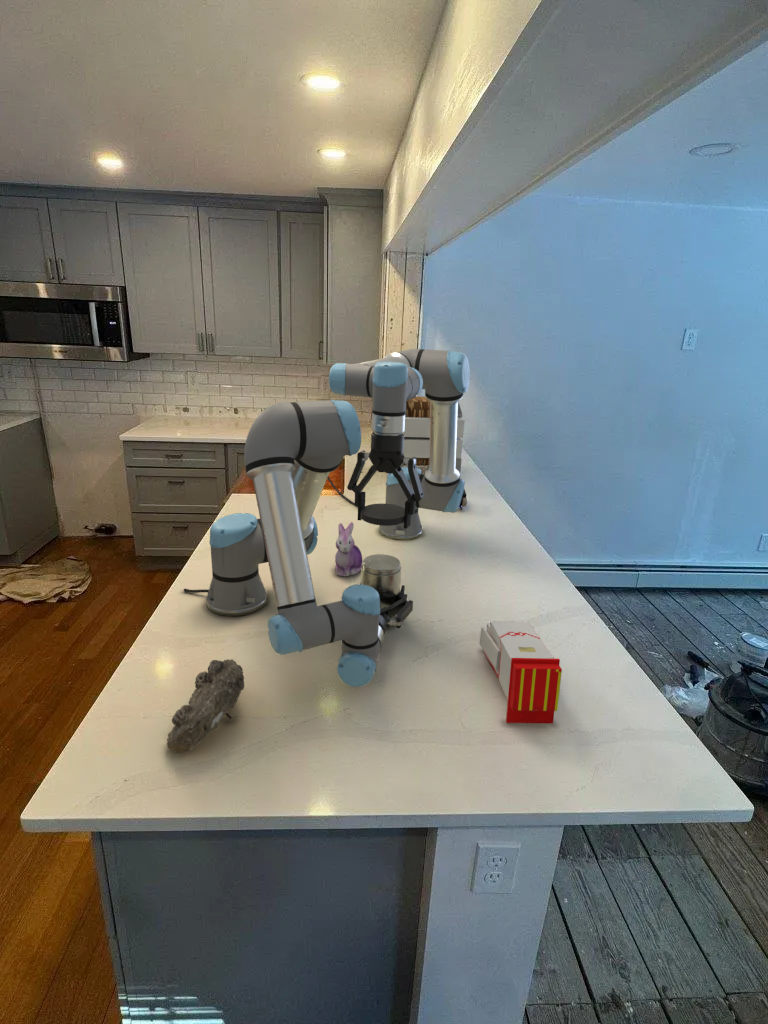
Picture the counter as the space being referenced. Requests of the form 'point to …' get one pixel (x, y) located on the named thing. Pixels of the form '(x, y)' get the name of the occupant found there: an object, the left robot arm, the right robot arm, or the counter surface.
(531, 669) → the toy
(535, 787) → the counter surface
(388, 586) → the jar
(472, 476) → the counter surface
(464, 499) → the figurine character
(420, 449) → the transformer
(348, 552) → the figurine
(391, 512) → the lid
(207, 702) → the fossil
